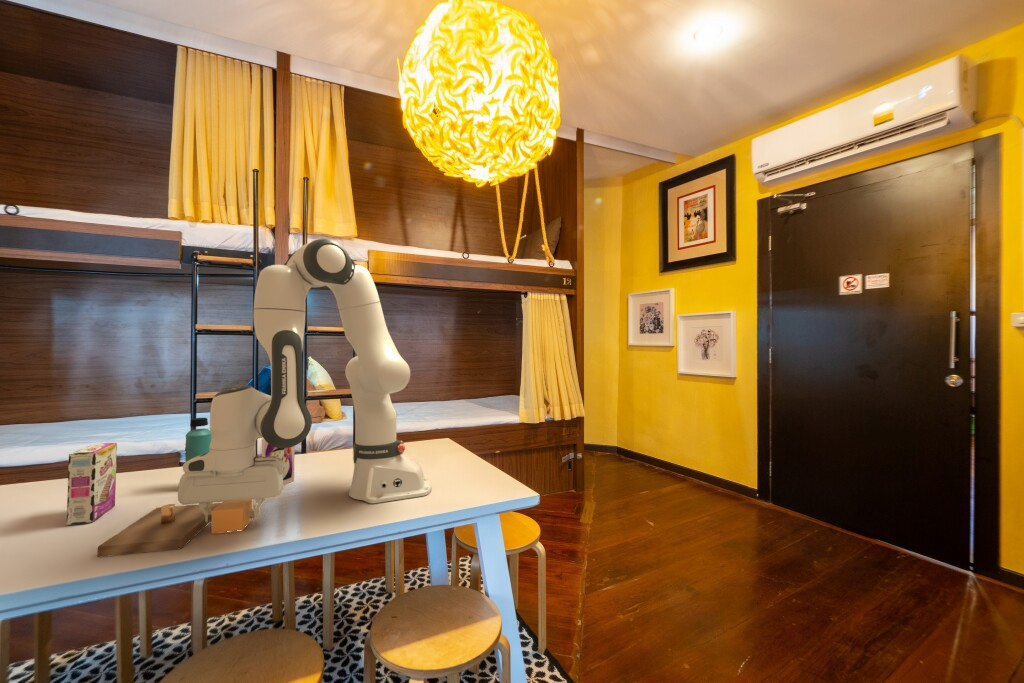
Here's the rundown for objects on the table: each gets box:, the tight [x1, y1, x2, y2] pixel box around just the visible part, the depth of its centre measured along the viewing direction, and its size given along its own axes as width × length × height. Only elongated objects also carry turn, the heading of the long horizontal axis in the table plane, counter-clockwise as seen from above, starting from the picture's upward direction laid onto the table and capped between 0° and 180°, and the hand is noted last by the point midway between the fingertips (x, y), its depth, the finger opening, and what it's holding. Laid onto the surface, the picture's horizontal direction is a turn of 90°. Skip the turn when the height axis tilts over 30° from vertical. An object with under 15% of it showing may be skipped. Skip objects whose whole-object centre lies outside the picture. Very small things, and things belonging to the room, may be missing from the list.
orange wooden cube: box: [211, 499, 253, 534], centre depth 95 cm, size 6×6×5 cm
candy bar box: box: [66, 442, 118, 526], centre depth 101 cm, size 11×5×16 cm, turn 23°
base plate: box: [96, 502, 221, 558], centre depth 93 cm, size 14×20×2 cm
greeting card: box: [261, 438, 296, 486], centre depth 122 cm, size 11×7×15 cm, turn 163°
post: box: [161, 503, 176, 524], centre depth 93 cm, size 2×2×4 cm
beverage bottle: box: [184, 417, 212, 474], centre depth 121 cm, size 6×7×20 cm
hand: (232, 519), depth 95 cm, fingers open, 7 cm apart
